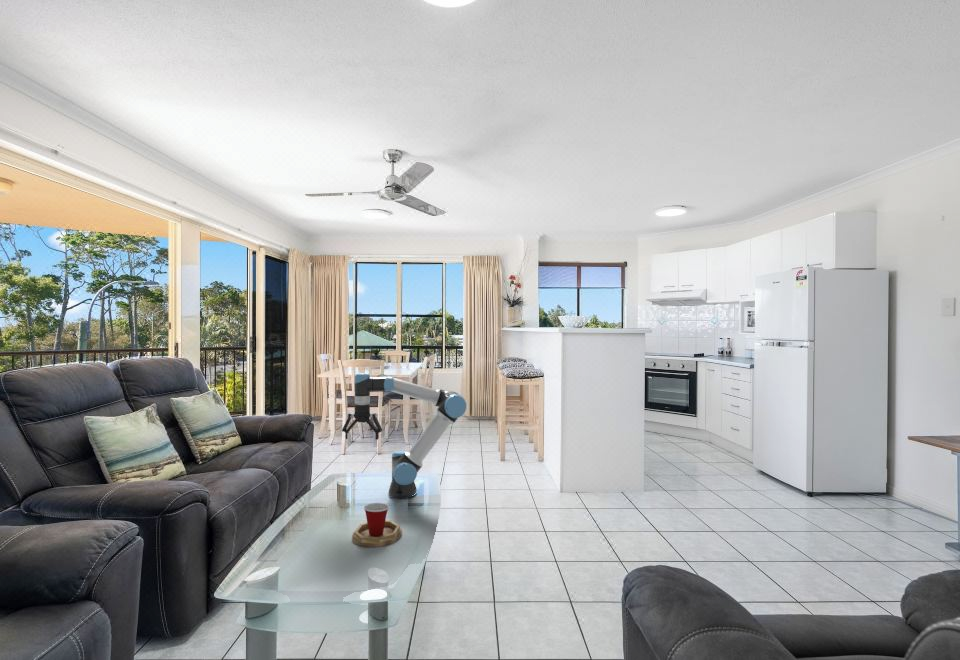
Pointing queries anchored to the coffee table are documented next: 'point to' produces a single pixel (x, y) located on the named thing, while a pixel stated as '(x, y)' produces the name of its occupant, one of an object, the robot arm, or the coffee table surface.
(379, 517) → the plastic cup
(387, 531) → the ring base
